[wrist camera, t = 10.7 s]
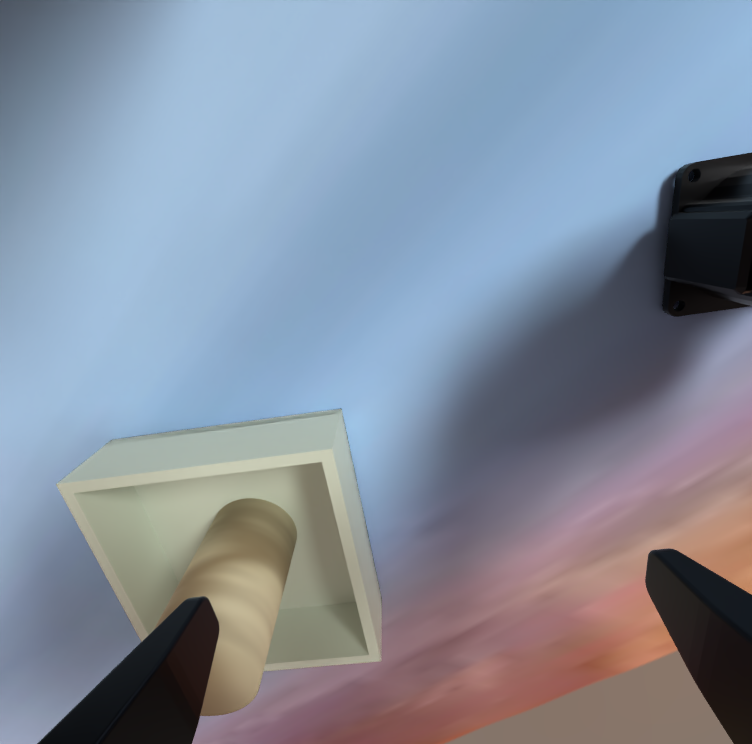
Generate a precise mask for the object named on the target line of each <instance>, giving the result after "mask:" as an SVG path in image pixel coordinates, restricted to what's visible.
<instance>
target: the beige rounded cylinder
mask: <svg viewBox="0 0 752 744" xmlns="http://www.w3.org/2000/svg"><path fill="white" fill-rule="evenodd" d="M296 540H297V529H296V526H295V523H294V521H293V520H292V518H291V517H290V515H289V514H288V513H287V512H286V511H285V510H283V509H282V508H281V507H279V506H278V505H276V504H274V503H272V502H269V501H266V500H262V499H255V498H246V499H239V500H236V501H233V502H231V503H228V504H227V505H225V506H224V507H223V508H222V509H221V510H220V511H219V512H218V513H217V515H216V517H215V519H214V520H213V522H212V524H211V526H210V528H209V530H208V531H207V533H206V535H205V537H204V539H203V541H202V542H201V544H200V546H199V548H198V550H197V552H196V553H195V555H194V557H193V559H192V561H191V563H190V564H189V566H188V568H187V570H186V572H185V573H184V575H183V577H182V579H181V581H180V583H179V584H178V586H177V588H176V590H175V592H174V594H173V595H172V597H171V599H170V601H169V603H168V605H167V606H166V608H165V610H164V612H163V614H162V616H161V617H160V619H159V621H158V623H157V625H156V627H157V626H158V625H159V624H161V623H162V622H163V621H164V620H165V619H166V618H167V617H168V616H169V615H170V614H171V613H172V612H173V611H174V610H175V609H176V608H177V607H178V606H179V605H180V604H181V603H182V602H183V601H184V600H186V599H188V598H191V597H200V596H206V597H207V598H208V599H209V600H210V602H211V605H212V607H213V609H214V612H215V614H216V617H217V619H218V621H219V637H218V641H217V646H216V650H215V654H214V659H213V663H212V667H211V672H210V676H209V680H208V685H207V689H206V693H205V698H204V702H203V706H202V710H201V714H200V716H216V715H223V714H228V713H232V712H235V711H237V710H239V709H241V708H243V707H245V706H246V705H248V704H249V703H250V702H251V701H252V700H253V699H254V698H255V696H256V695H257V693H258V690H259V686H260V682H261V678H262V674H263V671H264V667H265V663H266V659H267V655H268V651H269V647H270V643H271V639H272V635H273V631H274V627H275V623H276V619H277V615H278V611H279V607H280V603H281V599H282V596H283V592H284V588H285V584H286V580H287V576H288V572H289V568H290V564H291V560H292V556H293V552H294V548H295V544H296ZM156 627H155V628H156ZM155 628H154V629H155Z"/></svg>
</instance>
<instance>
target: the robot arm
mask: <svg viewBox="0 0 752 744" xmlns="http://www.w3.org/2000/svg"><path fill="white" fill-rule="evenodd" d="M691 171H693V172H694V177H693V179H692V180H691V182H690V181H689V180H688V175H689V173H690V172H691ZM664 276H665V285H664V294H663V304H662V307H663V311H664V312H665V313H666V314H668V315H671V316H685V315H692V314H699V313H706V312H712V311H719V310H726V309H733V308H740V307H747V306H752V153H747V154H741V155H735V156H729V157H723V158H718V159H712V160H706V161H700V162H695V163H689V164H687V165H684V166H683V167H682V168H680V169H679V171H678V172H677V175H676V178H675V187H674V196H673V206H672V216H671V219H670V221H669V229H668V239H667V249H666V259H665V268H664ZM677 301H679V305H678V307H677V308H676V309H674V304H675V303H676V302H677ZM645 582H646V588H647V591H648V593H649V595H650V597H651V599H652V601H653V603H654V605H655V607H656V609H657V611H658V613H659V615H660V617H661V618H662V620H663V622H664V624H665V626H666V628H667V630H668V632H669V634H670V636H671V638H672V639H673V641H674V643H675V645H676V647H677V649H678V651H679V653H680V655H681V657H682V659H683V661H684V662H685V664H686V666H687V668H688V670H689V672H690V673H691V675H692V677H693V679H694V681H695V683H696V684H697V686H698V688H699V689H700V691H701V693H702V694H703V696H704V698H705V699H706V701H707V702H708V704H709V705H710V707H711V708H712V710H713V712H714V713H715V715H716V717H717V718H718V720H719V721H720V723H721V724H722V726H723V728H724V729H725V731H726V732H727V734H728V735H729V737H730V738H731V740H732V742H733V743H734V744H752V595H751V594H749V593H748V592H746V591H744V590H743V589H741V588H739V587H738V586H736V585H734V584H733V583H731V582H729V581H728V580H726V579H724V578H723V577H721V576H719V575H718V574H716V573H714V572H712V571H711V570H709V569H707V568H706V567H704V566H702V565H701V564H699V563H697V562H696V561H694V560H692V559H691V558H689V557H687V556H686V555H684V554H682V553H680V552H679V551H677V550H674V549H660V550H652V551H651V552H650V553H649V555H648V562H647V570H646V579H645ZM218 637H219V621H218V619H217V617H216V614H215V612H214V609H213V607H212V605H211V602H210V600H209V599H208V598H207V597H206V596H200V597H191V598H188V599H186V600H184V601H183V602H182V603H181V604H180V605H179V606H178V607H177V608H176V609H175V610H174V611H173V612H172V613H171V614H170V615H169V616H168V617H167V618H166V619H165V620H164V621H163V622H162V623H161V624H159V625H158V626H157V627H156V628H155V629H154V630H153V631H152V632H151V633H150V634H149V635H148V636H147V637H146V638H145V639H144V640H143V641H142V642H141V643H140V644H139V645H138V646H137V647H136V648H135V649H134V650H133V651H132V652H131V653H130V654H129V655H128V656H127V657H126V658H125V659H124V660H123V661H122V662H121V663H120V664H119V665H117V666H116V667H115V668H114V669H113V670H112V671H111V672H110V673H109V674H108V675H107V676H106V677H105V678H104V679H103V680H102V681H101V682H100V683H99V684H98V685H97V686H96V687H95V688H94V689H93V690H92V691H91V692H90V693H89V694H88V695H87V696H86V697H85V698H84V699H83V700H82V701H81V702H80V703H79V704H78V705H77V706H75V707H74V708H73V709H72V710H71V711H70V712H69V713H68V714H67V715H66V716H65V717H64V718H63V719H62V720H61V721H60V722H59V723H58V724H57V725H56V726H55V727H54V728H53V729H52V730H51V731H50V732H49V733H48V734H47V735H46V736H45V737H44V738H43V739H42V740H41V741H40V742H39V743H38V744H192V741H193V738H194V735H195V732H196V728H197V725H198V722H199V718H200V714H201V710H202V706H203V702H204V698H205V693H206V689H207V685H208V680H209V676H210V672H211V667H212V663H213V659H214V654H215V650H216V646H217V641H218Z"/></svg>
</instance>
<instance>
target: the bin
mask: <svg viewBox="0 0 752 744" xmlns="http://www.w3.org/2000/svg"><path fill="white" fill-rule="evenodd" d="M56 485H57V487H58V489H59V491H60V493H61V495H62V496H63V498H64V500H65V502H66V504H67V506H68V507H69V509H70V511H71V513H72V515H73V517H74V518H75V520H76V522H77V524H78V526H79V528H80V530H81V531H82V533H83V535H84V537H85V539H86V541H87V542H88V544H89V546H90V548H91V550H92V552H93V553H94V555H95V557H96V559H97V561H98V563H99V565H100V566H101V568H102V570H103V572H104V574H105V576H106V577H107V579H108V581H109V583H110V585H111V587H112V588H113V590H114V592H115V594H116V596H117V598H118V600H119V601H120V603H121V605H122V607H123V609H124V611H125V612H126V614H127V616H128V618H129V620H130V622H131V623H132V625H133V627H134V629H135V631H136V633H137V635H138V636H139V638H140V640H141V642H142V641H143V640H144V639H145V638H146V637H147V636H148V635H149V634H150V633H151V632H152V631H153V630H154V628H155V627H156V625H157V623H158V621H159V619H160V617H161V616H162V614H163V612H164V610H165V608H166V606H167V605H168V603H169V601H170V599H171V597H172V595H173V594H174V592H175V590H176V588H177V586H178V584H179V583H180V581H181V579H182V577H183V575H184V573H185V572H186V570H187V568H188V566H189V564H190V563H191V561H192V559H193V557H194V555H195V553H196V552H197V550H198V548H199V546H200V544H201V542H202V541H203V539H204V537H205V535H206V533H207V531H208V530H209V528H210V526H211V524H212V522H213V520H214V519H215V517H216V515H217V513H218V512H219V511H220V510H221V509H222V508H223V507H224V506H225V505H227V504H228V503H231V502H233V501H236V500H239V499H246V498H255V499H262V500H266V501H269V502H272V503H274V504H276V505H278V506H279V507H281V508H282V509H283V510H285V511H286V512H287V513H288V514H289V515H290V517H291V518H292V520H293V521H294V523H295V526H296V529H297V540H296V544H295V548H294V552H293V556H292V560H291V564H290V568H289V572H288V576H287V580H286V584H285V588H284V592H283V596H282V599H281V603H280V607H279V611H278V615H277V619H276V623H275V627H274V631H273V635H272V639H271V643H270V647H269V651H268V655H267V659H266V663H265V667H264V671H274V670H285V669H297V668H309V667H320V666H332V665H343V664H355V663H366V662H378V661H381V621H382V597H381V593H380V588H379V583H378V579H377V574H376V569H375V565H374V560H373V555H372V550H371V546H370V541H369V536H368V532H367V527H366V522H365V517H364V513H363V508H362V503H361V499H360V494H359V489H358V484H357V480H356V475H355V470H354V466H353V461H352V456H351V451H350V447H349V442H348V437H347V433H346V428H345V423H344V418H343V414H342V409H334V410H327V411H319V412H312V413H305V414H297V415H290V416H283V417H275V418H268V419H261V420H253V421H246V422H239V423H231V424H224V425H217V426H209V427H202V428H194V429H187V430H180V431H172V432H165V433H158V434H150V435H143V436H136V437H128V438H121V439H114V440H111V441H109V442H108V443H107V444H106V445H104V446H103V447H102V448H101V449H99V450H98V451H97V452H96V453H94V454H93V455H92V456H91V457H89V458H88V459H87V460H86V461H84V462H83V463H82V464H81V465H79V466H78V467H77V468H76V469H74V470H73V471H72V472H71V473H69V474H68V475H67V476H66V477H64V478H63V479H62V480H61V481H59V482H58V483H57V484H56Z"/></svg>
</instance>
